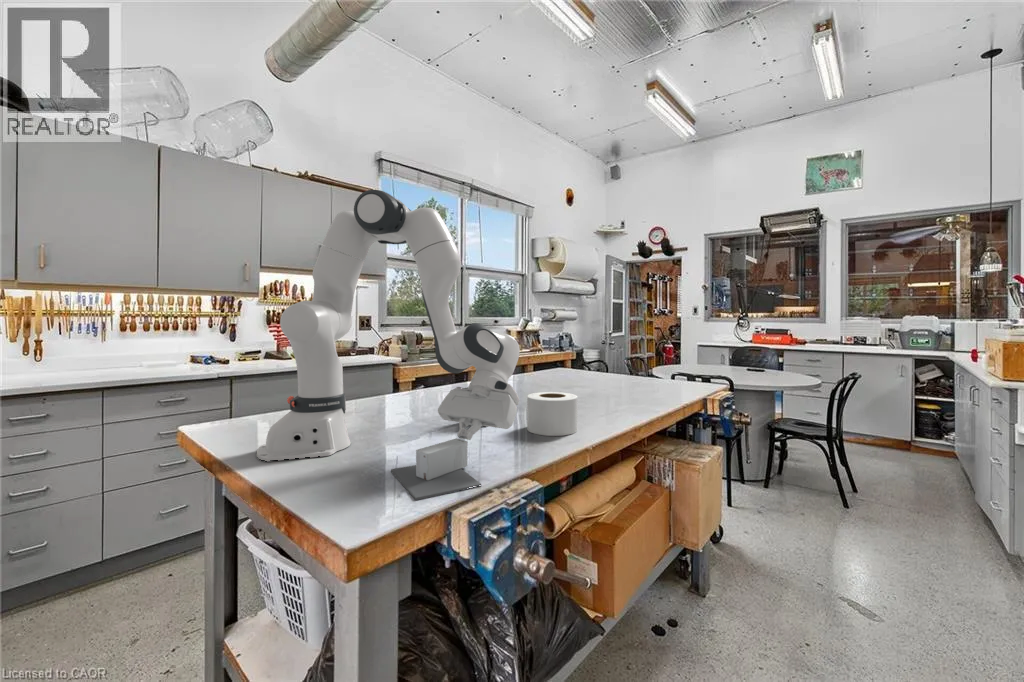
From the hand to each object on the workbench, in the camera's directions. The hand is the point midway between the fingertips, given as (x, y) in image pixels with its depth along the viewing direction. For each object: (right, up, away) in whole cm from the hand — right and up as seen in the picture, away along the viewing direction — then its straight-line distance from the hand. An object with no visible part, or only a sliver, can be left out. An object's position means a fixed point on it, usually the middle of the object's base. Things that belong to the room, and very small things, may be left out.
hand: (463, 438), depth 103 cm
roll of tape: (+24, -5, +34) cm, 42 cm away
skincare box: (0, -4, +1) cm, 4 cm away
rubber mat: (-6, -7, -7) cm, 11 cm away
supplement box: (+1, -5, +42) cm, 42 cm away
